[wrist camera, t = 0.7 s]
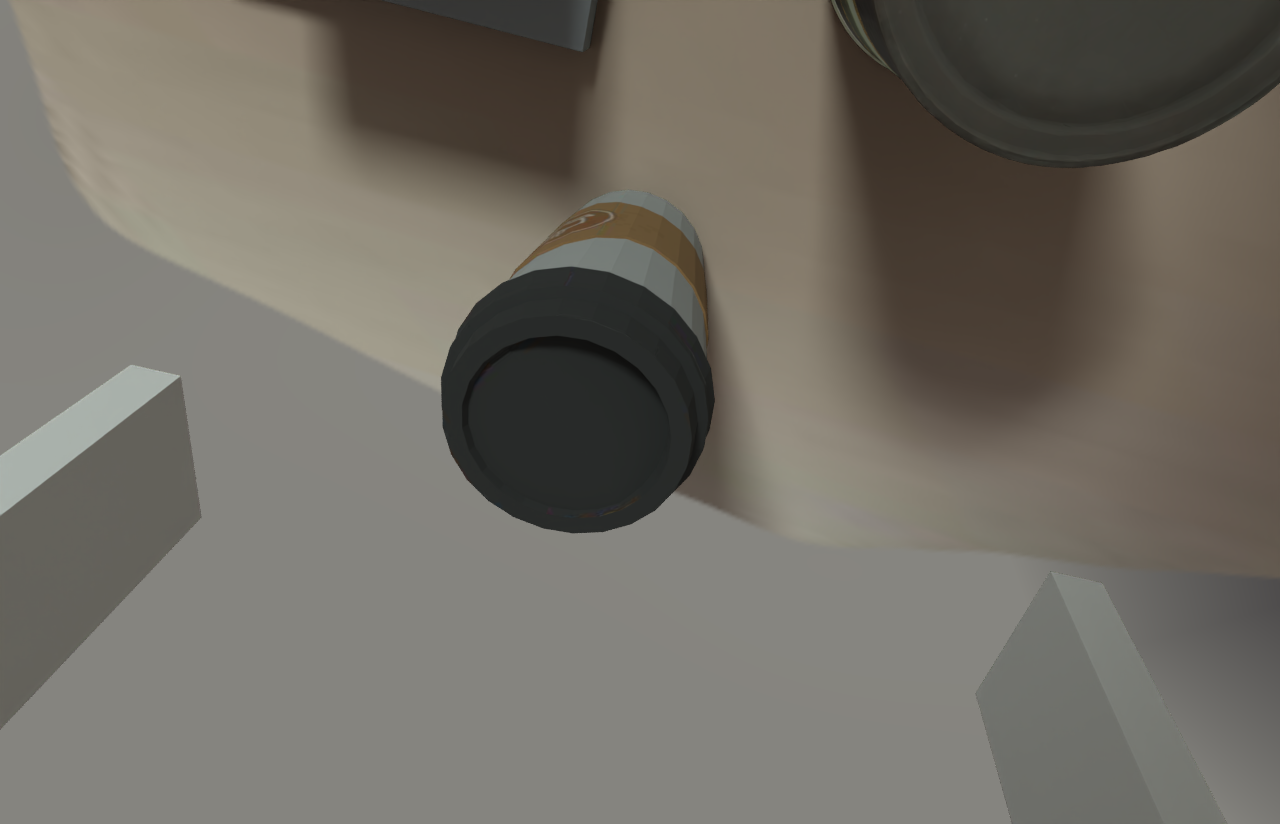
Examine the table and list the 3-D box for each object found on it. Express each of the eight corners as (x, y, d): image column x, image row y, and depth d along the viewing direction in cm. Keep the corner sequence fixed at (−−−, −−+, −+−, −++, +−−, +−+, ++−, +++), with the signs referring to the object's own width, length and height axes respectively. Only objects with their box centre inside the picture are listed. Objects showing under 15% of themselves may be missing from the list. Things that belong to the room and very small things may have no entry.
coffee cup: (666, 124, 33) (610, 240, 20) (759, 293, 36) (763, 487, 23) (504, 222, 36) (365, 377, 23) (604, 370, 39) (530, 581, 26)
